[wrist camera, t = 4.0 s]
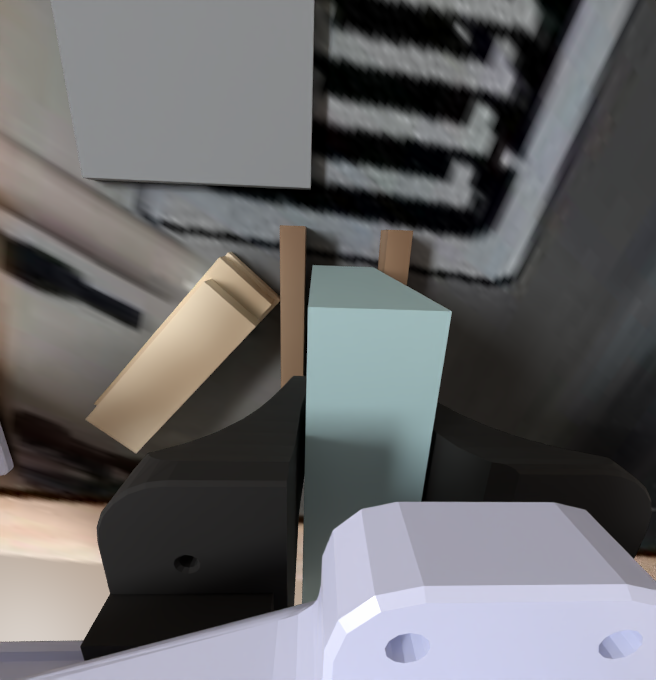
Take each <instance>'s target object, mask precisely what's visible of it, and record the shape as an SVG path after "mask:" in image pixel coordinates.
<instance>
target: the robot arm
mask: <svg viewBox="0 0 656 680" xmlns="http://www.w3.org/2000/svg"><path fill="white" fill-rule="evenodd" d="M306 384H307V376H293V377H291V378H290V379H289V381H288V382H287V383H286V384H285V385H284V386H283V387H282V388H281V389H280V390H279V391H278V392H277V393H276V394H275V395H274V396H273V397H272V398H271V399H270V400H269V401H268V402H266V403H265V404H264V405H263V406H262V407H260V408H259V409H258V410H256V411H255V412H253V413H252V414H250V415H249V416H247V417H245V418H244V419H242V420H240V421H238V422H236V423H234V424H232V425H230V426H228V427H226V428H224V429H222V430H220V431H218V432H216V433H213V434H211V435H208V436H206V437H203V438H200V439H197V440H195V441H192V442H188V443H185V444H182V445H178V446H174V447H171V448H167V449H163V450H159V451H155V452H151V453H148V454H147V455H146V456H145V457H144V458H143V459H142V461H141V462H140V463H139V464H138V465H137V466H136V467H135V469H134V470H133V471H132V473H131V474H130V475H129V477H128V478H127V479H126V481H125V482H124V483H123V485H122V486H121V487H120V488H119V490H118V491H117V492H116V494H115V495H114V496H113V498H112V499H111V500H110V502H109V503H108V504H107V505H106V507H105V508H104V509H103V511H102V512H101V515H100V518H99V521H98V524H97V539H98V546H99V550H100V554H101V558H102V562H103V566H104V570H105V574H106V578H107V583H108V587H109V590H110V595H109V597H108V599H107V600H106V602H105V604H104V606H103V607H102V609H101V611H100V613H99V615H98V616H97V618H96V620H95V622H94V623H93V625H92V627H91V628H90V630H89V632H88V634H87V636H86V637H85V639H84V640H83V641H26V642H25V641H21V642H0V680H656V581H655V580H654V579H653V578H652V577H651V576H650V575H649V574H648V573H647V572H646V571H645V570H644V569H643V568H642V567H641V566H640V565H639V564H638V563H637V562H636V561H635V560H634V558H635V556H636V554H637V551H638V549H639V547H640V545H641V543H642V540H643V538H644V536H645V534H646V531H647V529H648V526H649V523H650V519H651V516H652V509H651V498H650V496H649V494H648V492H647V489H646V487H645V486H644V485H643V484H641V483H640V482H639V481H638V480H637V479H636V478H635V477H634V476H632V475H631V474H630V473H628V472H627V471H626V470H624V469H623V468H622V467H620V466H619V465H618V464H617V463H615V462H614V461H613V460H611V459H610V458H607V457H602V456H597V455H592V454H587V453H582V452H577V451H572V450H567V449H562V448H557V447H553V446H550V445H546V444H542V443H538V442H534V441H530V440H527V439H524V438H520V437H517V436H514V435H511V434H508V433H505V432H502V431H499V430H496V429H493V428H491V427H488V426H486V425H483V424H481V423H478V422H476V421H474V420H471V419H469V418H467V417H465V416H462V415H460V414H458V413H456V412H454V411H452V410H451V409H449V408H447V407H445V406H443V405H441V404H439V403H438V402H437V407H436V413H435V419H434V425H433V431H432V437H431V444H430V450H429V456H428V462H427V468H426V474H425V481H424V487H423V493H422V499H421V502H392V503H387V504H383V505H378V506H373V507H368V508H363V509H361V510H360V511H358V512H357V513H355V514H354V515H353V516H351V517H350V518H349V519H347V520H346V521H345V522H343V523H342V524H341V525H339V526H338V527H336V528H335V529H334V530H333V531H332V534H331V536H330V539H329V541H328V544H327V546H326V549H325V551H324V554H323V556H322V573H321V587H320V591H319V596H318V598H317V600H315V601H311V602H307V603H303V604H300V605H296V606H294V595H295V576H296V557H297V538H298V520H299V509H300V501H301V494H302V488H303V481H304V475H305V435H306ZM13 467H14V466H13V461H12V458H11V455H10V452H9V448H8V445H7V442H6V439H5V436H4V433H3V430H2V427H1V423H0V475H5V474H7V473H8V472H9V471H11V470H12V469H13Z"/></svg>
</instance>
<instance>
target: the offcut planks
mask: <svg viewBox="0 0 656 680" xmlns="http://www.w3.org/2000/svg"><path fill="white" fill-rule="evenodd" d="M279 302H280V296H279V295H278V294H277V293H276V292H275V291H273V290H272V289H271V288H270V287H269V286H268V285H267V284H266V283H265V282H264V281H263V280H262V279H260V278H259V277H258V276H257V275H256V274H255V273H254V272H253V271H252V270H251V269H250V268H248V267H247V266H246V265H245V264H244V263H243V262H242V261H241V260H240V259H239V258H238V257H237V256H235V255H234V254H233V253H232V252H229V253H228V254H227V255H226V256H223V257H219V258H218V260H217V261H216V262H215V263H214V264H213V265H212V267H211V268H210V269H209V270H208V271H207V272H206V274H205V275H204V276H203V277H202V278H201V279H200V281H199V282H198V283H197V284H196V285H195V286H194V288H193V289H192V290H191V291H190V292H189V293H188V295H187V296H186V297H185V298H184V299H183V300H182V302H181V303H180V304H179V305H178V306H177V307H176V309H175V310H174V311H173V312H172V313H171V314H170V316H169V317H168V318H167V319H166V320H165V321H164V323H163V324H162V325H161V326H160V327H159V328H158V330H157V331H156V332H155V333H154V334H153V335H152V337H151V338H150V339H149V340H148V341H147V343H146V344H145V345H144V346H143V347H142V348H141V350H140V351H139V352H138V353H137V354H136V355H135V357H134V358H133V359H132V360H131V361H130V362H129V364H128V365H127V366H126V367H125V368H124V369H123V371H122V372H121V373H120V374H119V375H118V376H117V378H116V379H115V380H114V381H113V382H112V383H111V385H110V386H109V387H108V388H107V389H106V390H105V392H104V393H103V394H102V395H101V396H100V397H99V399H98V400H97V401H96V402H95V403H94V404H95V405H97V407H96V408H95V409H94V410H93V411H92V412H91V414H90V415H89V416H88V417H87V418H86V419H85V420H87V421H88V422H90V423H91V424H93V425H94V426H96V427H97V428H99V429H100V430H102V431H103V432H105V433H106V434H108V435H109V436H111V437H112V438H114V439H115V440H116V441H118V442H119V443H121V444H122V445H124V446H125V447H127V448H128V449H130V450H131V451H133V452H134V453H137V452H138V451H139V450H140V449H141V448H142V447H143V446H144V444H145V443H146V442H147V441H148V440H149V439H150V438H151V437H152V436H153V435H154V434H155V433H156V432H157V431H158V430H159V429H160V428H161V427H162V426H163V425H164V424H165V422H166V421H167V420H168V419H169V418H170V417H171V416H172V415H173V414H174V413H175V412H176V411H177V410H178V409H179V408H180V407H181V406H182V404H183V403H184V402H185V401H186V400H187V399H188V398H189V397H190V396H191V395H192V394H193V393H194V392H195V391H196V390H197V389H198V387H199V386H200V385H201V384H202V383H203V382H204V381H205V380H206V379H207V378H208V377H209V376H210V375H211V374H212V373H213V372H214V370H215V369H216V368H217V367H218V366H219V365H220V364H221V363H222V362H223V361H224V360H225V359H226V358H227V357H228V356H229V355H230V354H231V352H232V351H233V350H234V349H235V348H236V347H237V346H238V345H239V344H240V343H241V342H242V341H243V340H244V339H245V338H246V337H247V335H248V334H249V333H250V332H251V331H252V330H253V329H254V328H255V327H256V326H257V325H258V324H259V323H260V322H261V321H262V320H263V319H264V317H265V316H266V315H267V314H268V313H269V312H270V311H271V310H272V309H273V308H274V307H275V306H276V305H277V304H278V303H279Z"/></svg>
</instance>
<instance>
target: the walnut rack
mask: <svg viewBox="0 0 656 680" xmlns="http://www.w3.org/2000/svg"><path fill="white" fill-rule="evenodd" d="M306 233H307V227H305V226H283V225H280V309H281V388H282V387H283V386H284V385H285V384H286V383H287V382H288V381H289V379H290V378H291V377H293V376H304V350H305V291H306ZM412 236H413V231H403V230H381V238H380V250H379V262H378V270H379V271H381V272H383V273H385V274H386V275H388V276H390V277H392V278H393V279H395V280H397V281H399V282H401V283H402V284H404V285H406V286H407V280H408V271H409V262H410V253H411V245H412Z"/></svg>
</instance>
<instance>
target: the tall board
mask: <svg viewBox="0 0 656 680" xmlns="http://www.w3.org/2000/svg"><path fill="white" fill-rule="evenodd" d="M451 314H452V311H450V310H449V309H447V308H445V307H443V306H441V305H440V304H438V303H436V302H434V301H433V300H431V299H429V298H427V297H425V296H424V295H422V294H420V293H418V292H417V291H415V290H413V289H411V288H409V287H408V286H406V285H404V284H402V283H401V282H399V281H397V280H395V279H393V278H392V277H390V276H388V275H386V274H385V273H383V272H381V271H379V270H377V269H376V268H374V267H350V266H323V265H313V267H312V276H311V285H310V294H309V303H308V333H307V384H306V435H305V485H304V536H303V587H302V590H303V591H302V604H303V603H307V602H311V601H315V600H317V598H318V596H319V591H320V587H321V573H322V556H323V554H324V551H325V549H326V546H327V544H328V541H329V539H330V536H331V534H332V531H333V530H334V529H335V528H336V527H338V526H339V525H341V524H342V523H343V522H345V521H346V520H347V519H349V518H350V517H351V516H353V515H354V514H355V513H357V512H358V511H360V510H361V509H363V508H368V507H373V506H378V505H383V504H387V503H392V502H421V499H422V493H423V487H424V481H425V474H426V468H427V462H428V456H429V450H430V444H431V437H432V431H433V425H434V419H435V413H436V407H437V400H438V394H439V388H440V382H441V376H442V370H443V363H444V357H445V351H446V345H447V339H448V333H449V326H450V320H451Z"/></svg>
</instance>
